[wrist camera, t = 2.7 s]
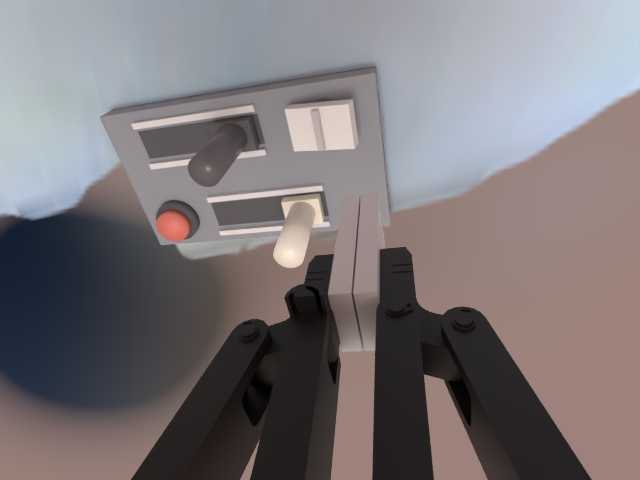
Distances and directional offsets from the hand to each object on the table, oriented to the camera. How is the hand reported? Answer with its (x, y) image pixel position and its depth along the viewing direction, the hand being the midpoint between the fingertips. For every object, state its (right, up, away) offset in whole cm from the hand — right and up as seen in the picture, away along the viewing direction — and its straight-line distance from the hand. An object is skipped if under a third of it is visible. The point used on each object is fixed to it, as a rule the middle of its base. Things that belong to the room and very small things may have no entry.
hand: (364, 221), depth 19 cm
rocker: (-2, +10, +19) cm, 21 cm away
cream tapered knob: (-4, +3, +25) cm, 26 cm away
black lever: (-10, +10, +21) cm, 26 cm away
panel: (-9, +8, +26) cm, 29 cm away
